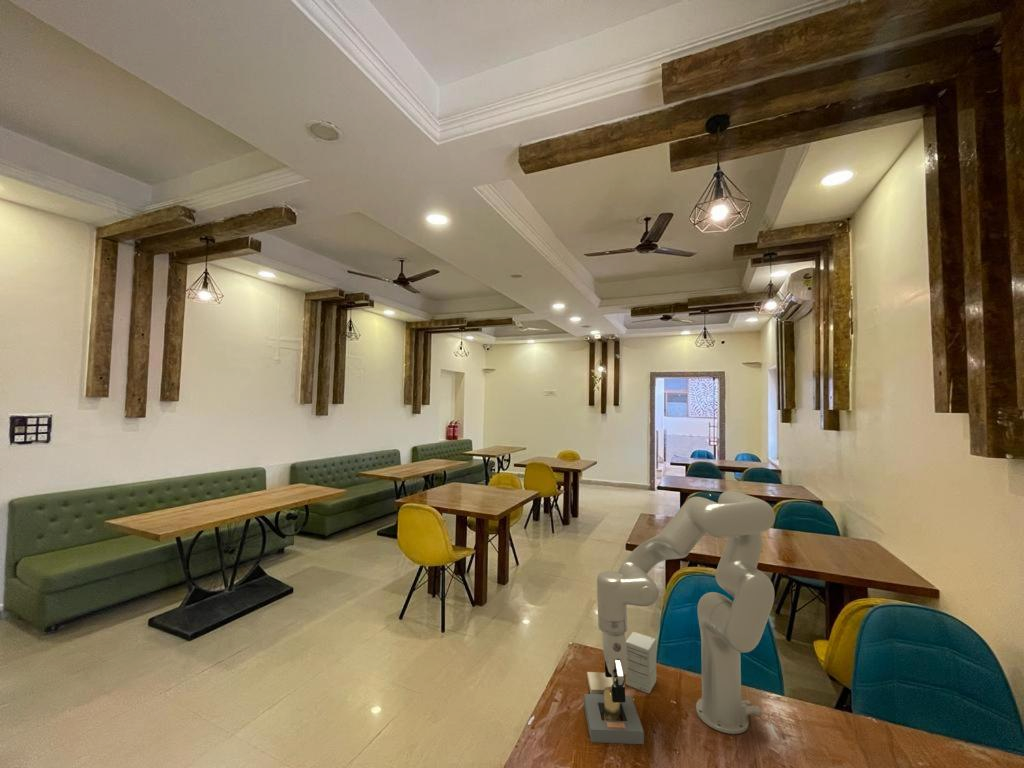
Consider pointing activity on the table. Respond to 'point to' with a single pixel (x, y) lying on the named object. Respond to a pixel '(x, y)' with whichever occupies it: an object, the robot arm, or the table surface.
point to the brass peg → (610, 706)
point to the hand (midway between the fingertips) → (614, 688)
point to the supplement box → (641, 662)
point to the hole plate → (613, 722)
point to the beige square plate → (598, 682)
